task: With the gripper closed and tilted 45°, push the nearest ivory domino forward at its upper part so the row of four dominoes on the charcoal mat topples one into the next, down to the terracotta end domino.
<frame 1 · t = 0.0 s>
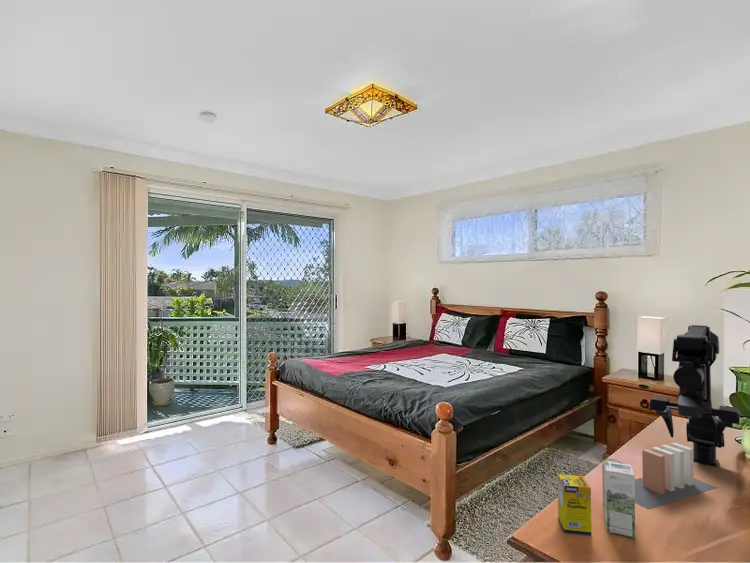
hand: (693, 441, 109), 15 cm above the dresser, tool pointing down, fingers open, 9 cm apart
syrup box: (619, 530, 95), on the dresser
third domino: (663, 486, 114), point 1 cm above the dresser, touching domino mat
domino mat: (661, 489, 113), on the dresser
supplement box: (574, 528, 96), on the dresser
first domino: (682, 481, 117), point 1 cm above the dresser, touching domino mat
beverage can: (613, 511, 103), on the dresser
end domino: (653, 489, 112), point 1 cm above the dresser, touching domino mat
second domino: (673, 484, 115), point 1 cm above the dresser, touching domino mat
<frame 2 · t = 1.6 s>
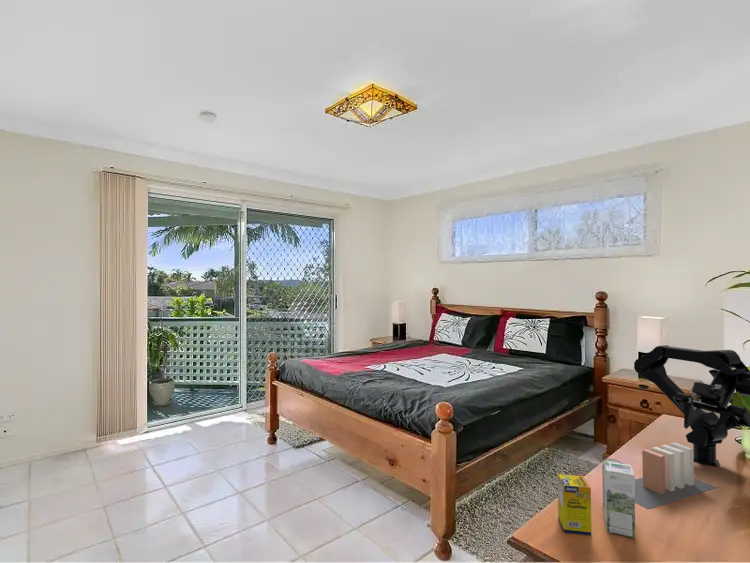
hand: (698, 431, 119), 14 cm above the dresser, tool tilted 45°, fingers open, 7 cm apart
nothing on the dresser moved.
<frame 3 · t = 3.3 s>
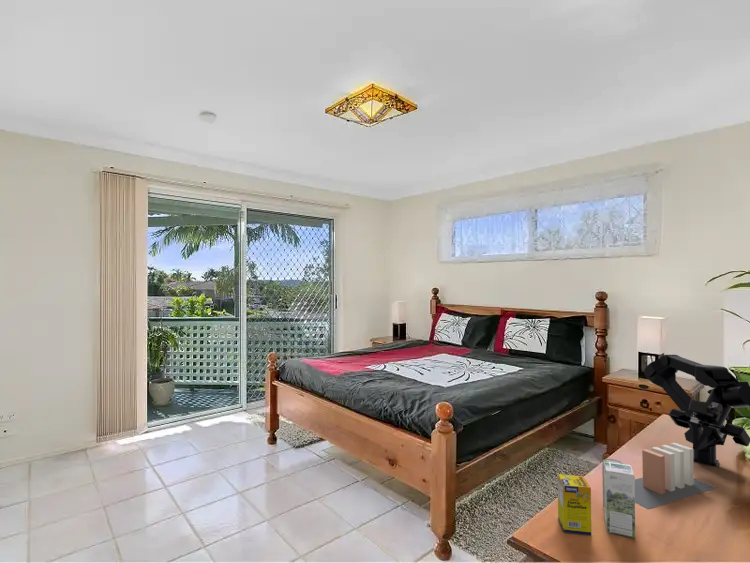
hand: (694, 450, 118), 9 cm above the dresser, tool tilted 45°, fingers closed
nothing on the dresser moved.
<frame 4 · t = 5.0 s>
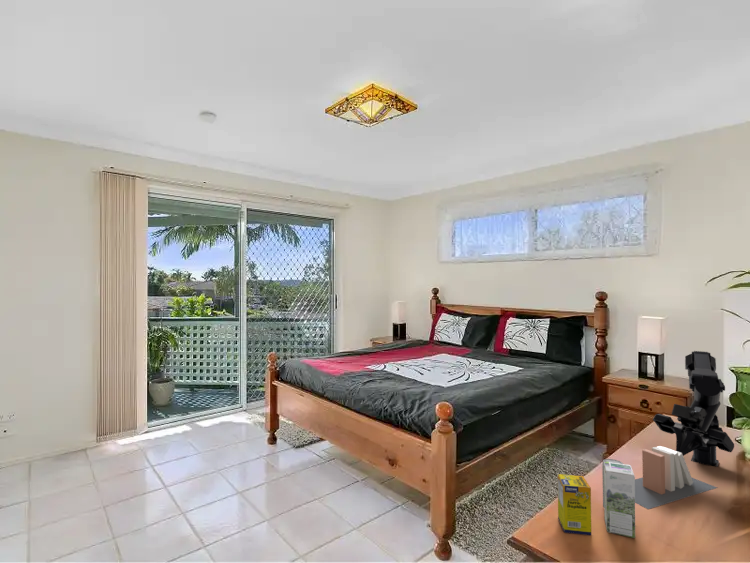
hand: (678, 455, 116), 8 cm above the dresser, tool tilted 45°, fingers closed
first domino: (682, 480, 116), point 1 cm above the dresser, tilted 27°, touching domino mat
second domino: (673, 483, 115), point 1 cm above the dresser, tilted 14°, touching domino mat
everything else where it was.
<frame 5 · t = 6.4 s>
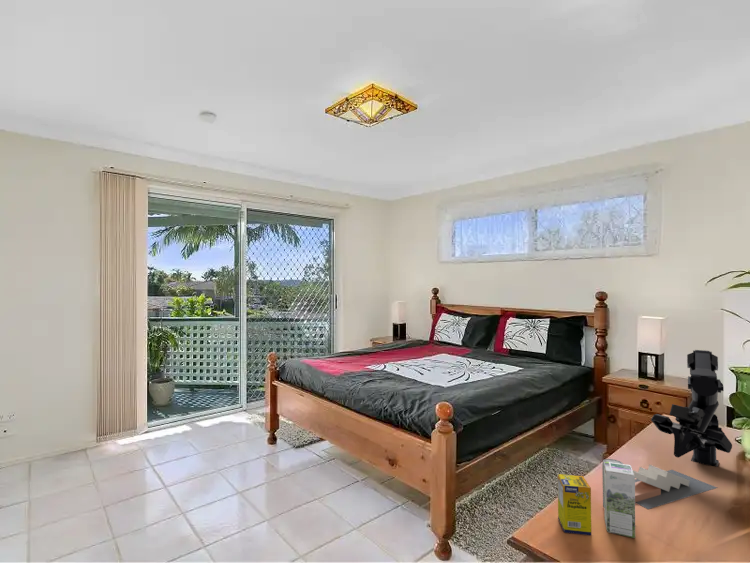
hand: (675, 456, 116), 8 cm above the dresser, tool tilted 45°, fingers closed
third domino: (660, 484, 113), point 1 cm above the dresser, tilted 66°, touching end domino, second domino
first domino: (679, 479, 116), point 1 cm above the dresser, tilted 66°, touching domino mat, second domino
end domino: (651, 487, 112), point 1 cm above the dresser, tilted 90°, touching domino mat, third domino
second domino: (670, 482, 115), point 1 cm above the dresser, tilted 66°, touching domino mat, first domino, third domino
everything else where it was.
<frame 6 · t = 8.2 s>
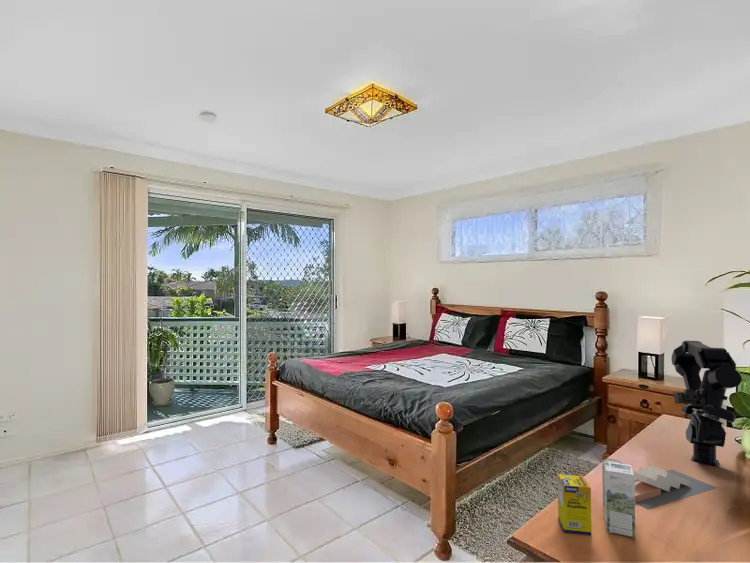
hand: (699, 441, 118), 11 cm above the dresser, tool tilted 25°, fingers closed
nothing on the dresser moved.
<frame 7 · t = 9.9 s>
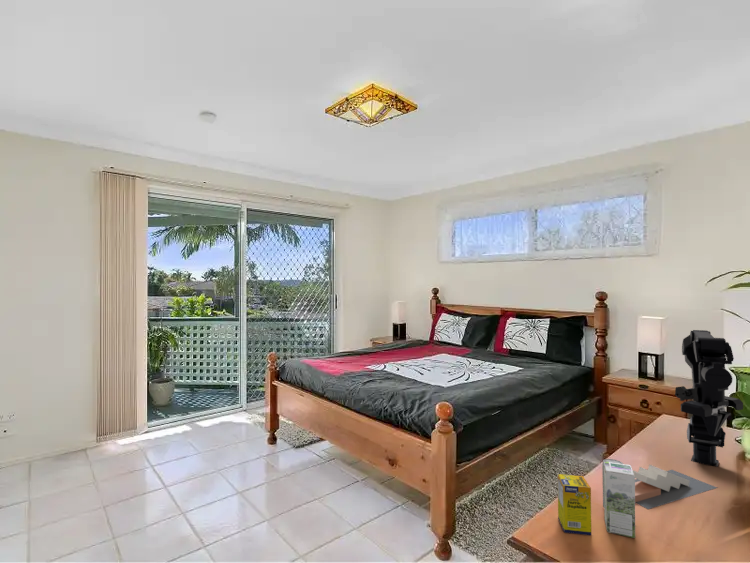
hand: (712, 435, 118), 13 cm above the dresser, tool pointing down, fingers closed
nothing on the dresser moved.
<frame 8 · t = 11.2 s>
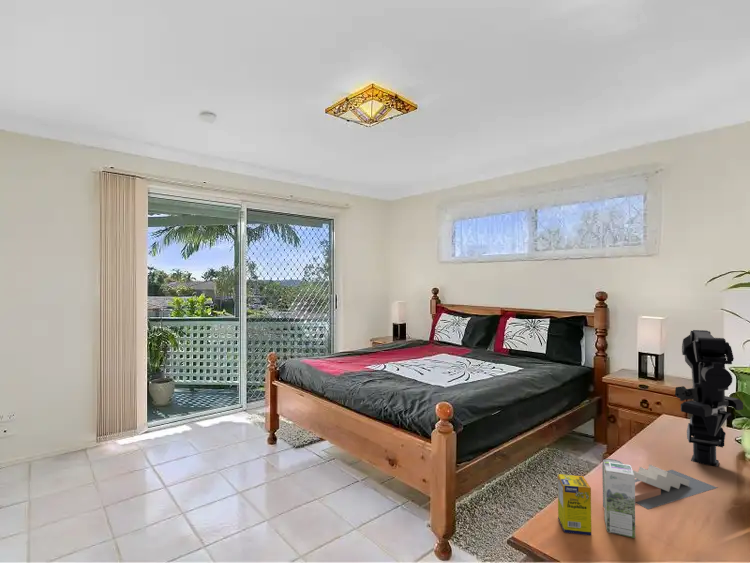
hand: (712, 435, 118), 13 cm above the dresser, tool pointing down, fingers closed
nothing on the dresser moved.
at the end: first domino tilted 66°; end domino tilted 90° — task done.
